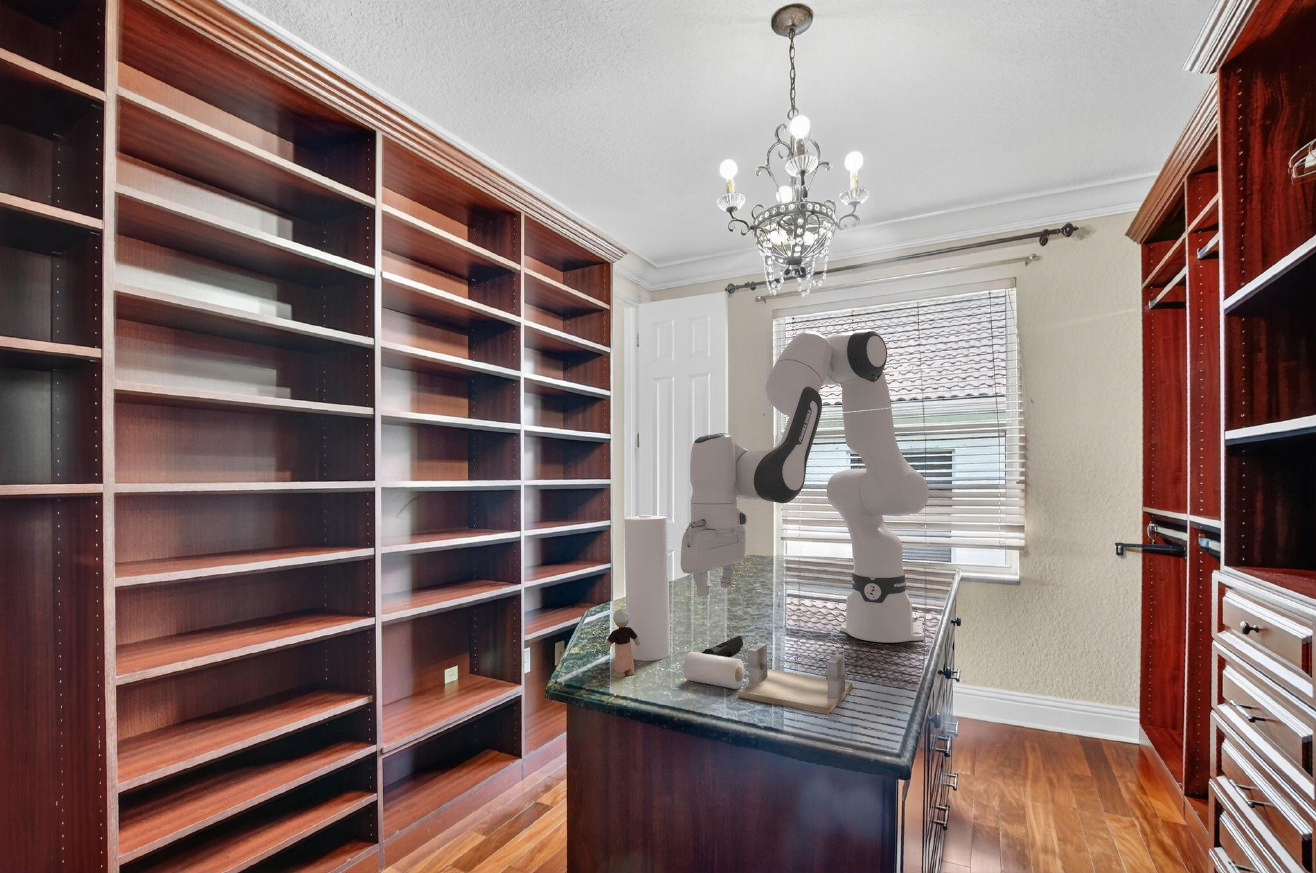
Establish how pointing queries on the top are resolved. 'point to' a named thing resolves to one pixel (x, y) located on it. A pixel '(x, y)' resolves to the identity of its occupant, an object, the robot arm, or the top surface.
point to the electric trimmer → (726, 647)
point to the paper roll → (714, 670)
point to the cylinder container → (647, 585)
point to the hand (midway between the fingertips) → (715, 591)
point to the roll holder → (795, 684)
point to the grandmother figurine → (622, 644)
